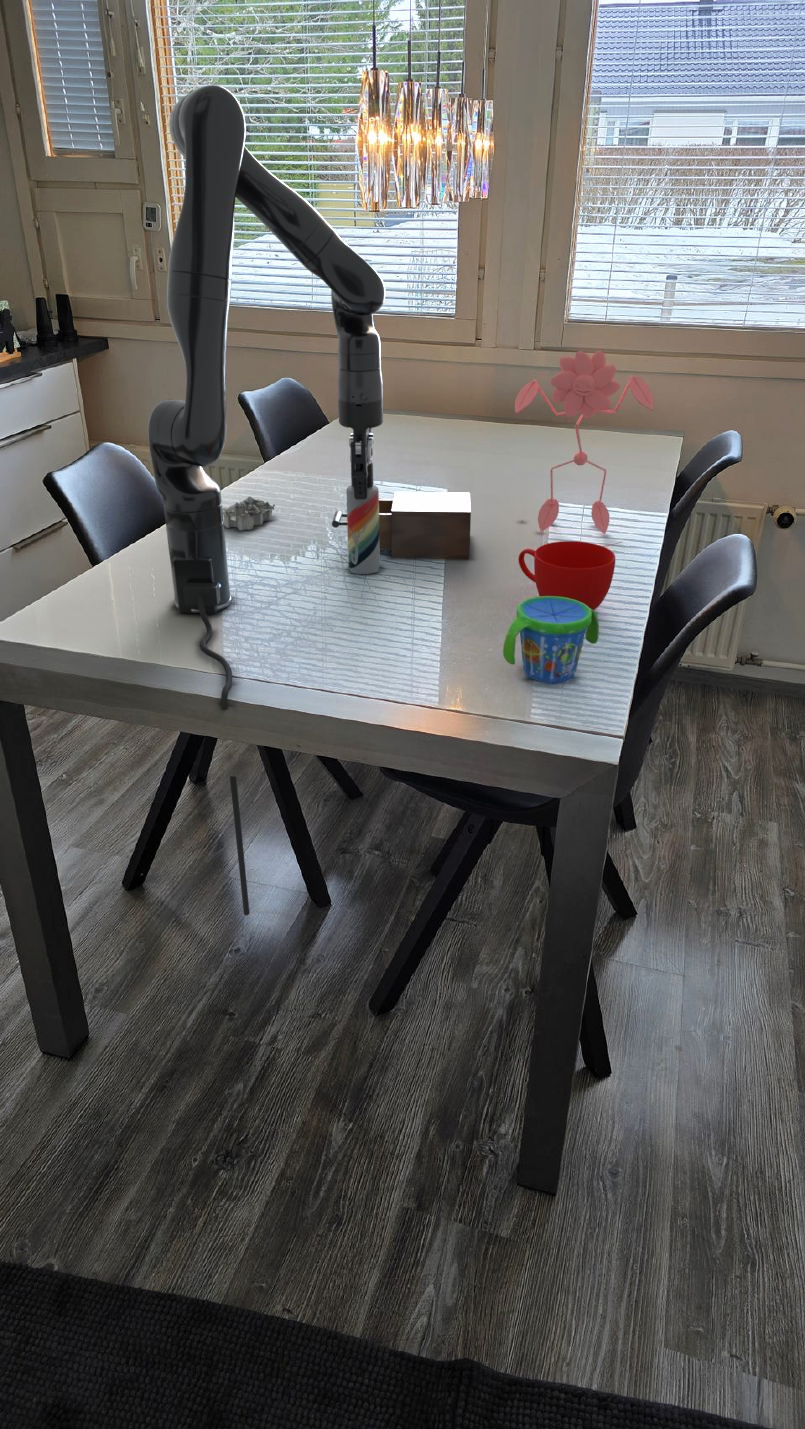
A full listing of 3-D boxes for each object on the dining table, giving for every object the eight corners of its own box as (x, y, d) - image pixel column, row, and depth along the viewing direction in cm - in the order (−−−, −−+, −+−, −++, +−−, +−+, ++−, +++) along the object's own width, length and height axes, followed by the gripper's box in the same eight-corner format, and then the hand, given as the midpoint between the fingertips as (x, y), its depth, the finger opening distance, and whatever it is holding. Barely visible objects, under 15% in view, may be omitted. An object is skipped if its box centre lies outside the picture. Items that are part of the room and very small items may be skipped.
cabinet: (391, 558, 188) (391, 511, 184) (394, 536, 199) (394, 491, 194) (469, 559, 188) (470, 512, 183) (468, 537, 198) (469, 492, 194)
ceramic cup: (537, 585, 176) (541, 530, 171) (624, 609, 167) (630, 552, 162) (495, 608, 167) (498, 551, 162) (584, 634, 158) (589, 575, 153)
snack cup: (575, 650, 153) (581, 587, 148) (614, 678, 145) (622, 614, 140) (484, 668, 148) (487, 604, 143) (520, 699, 139) (524, 632, 134)
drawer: (331, 551, 189) (329, 514, 185) (337, 532, 198) (335, 496, 195) (425, 552, 188) (425, 515, 184) (426, 533, 197) (426, 497, 194)
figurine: (510, 520, 207) (519, 342, 190) (637, 527, 203) (658, 346, 186) (503, 545, 194) (512, 356, 177) (639, 553, 190) (661, 361, 173)
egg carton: (245, 532, 201) (244, 513, 199) (217, 526, 205) (215, 506, 203) (279, 518, 209) (277, 499, 207) (251, 512, 212) (249, 493, 210)
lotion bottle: (342, 571, 182) (339, 462, 172) (358, 561, 186) (355, 454, 177) (370, 576, 180) (368, 466, 170) (385, 566, 184) (384, 458, 174)
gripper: (342, 387, 174) (345, 480, 182) (333, 405, 162) (337, 504, 170) (385, 387, 174) (386, 480, 182) (380, 405, 162) (381, 505, 170)
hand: (362, 492), depth 176 cm, fingers open, 7 cm apart
